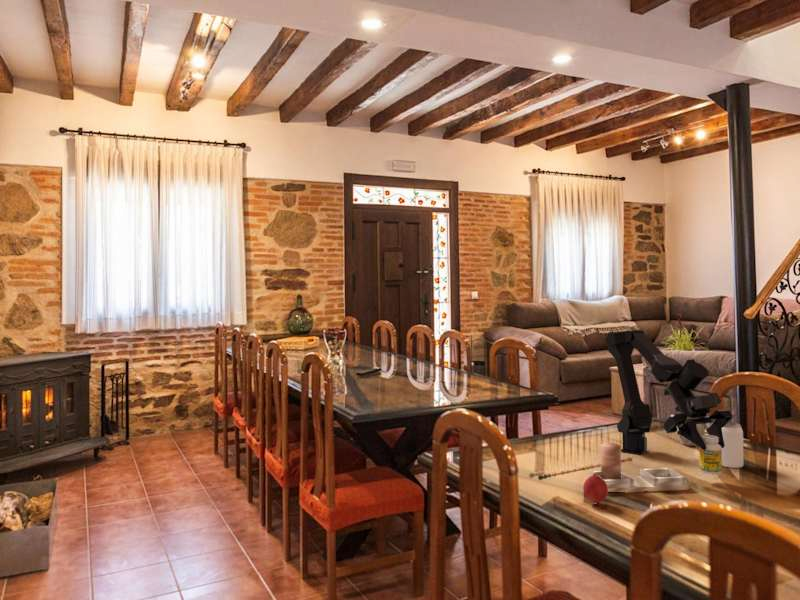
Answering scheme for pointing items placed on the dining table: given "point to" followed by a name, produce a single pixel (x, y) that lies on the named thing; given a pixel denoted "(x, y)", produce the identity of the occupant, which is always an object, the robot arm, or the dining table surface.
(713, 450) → the supplement bottle
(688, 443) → the grey round lump
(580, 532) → the dining table surface
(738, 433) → the can
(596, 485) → the onion
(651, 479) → the candle holder
